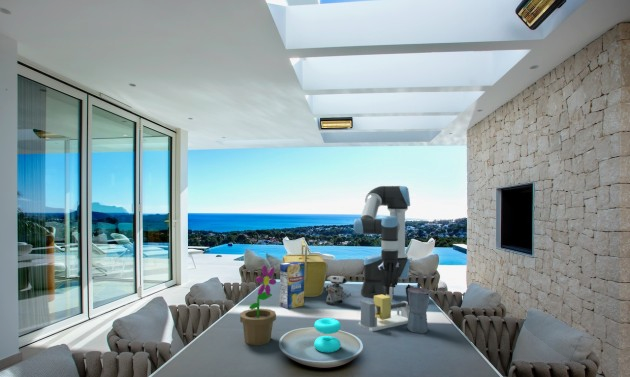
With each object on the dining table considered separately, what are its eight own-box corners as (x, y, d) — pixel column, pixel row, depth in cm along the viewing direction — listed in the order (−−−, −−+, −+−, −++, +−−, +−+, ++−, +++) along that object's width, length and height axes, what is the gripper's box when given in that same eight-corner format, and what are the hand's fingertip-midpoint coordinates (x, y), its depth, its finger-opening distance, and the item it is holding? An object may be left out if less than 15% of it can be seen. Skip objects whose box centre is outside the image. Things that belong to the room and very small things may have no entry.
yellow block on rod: (382, 314, 166) (382, 294, 166) (390, 318, 161) (390, 297, 161) (373, 316, 163) (373, 295, 163) (382, 320, 158) (382, 298, 158)
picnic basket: (281, 286, 232) (282, 239, 233) (321, 285, 235) (321, 239, 236) (282, 298, 203) (283, 245, 204) (327, 297, 206) (328, 245, 207)
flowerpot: (259, 350, 132) (260, 268, 133) (231, 341, 140) (232, 264, 141) (282, 338, 144) (284, 263, 145) (255, 330, 152) (257, 259, 153)
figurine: (339, 308, 185) (339, 279, 186) (323, 303, 194) (324, 275, 194) (351, 304, 192) (351, 276, 192) (335, 300, 200) (335, 273, 200)
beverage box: (279, 306, 188) (280, 263, 188) (296, 302, 195) (296, 261, 196) (287, 309, 183) (287, 265, 183) (303, 305, 190) (304, 263, 190)
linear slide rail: (401, 316, 174) (401, 293, 174) (415, 321, 166) (415, 297, 166) (358, 324, 161) (358, 300, 161) (371, 331, 153) (371, 305, 153)
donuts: (311, 318, 138) (335, 316, 141) (310, 344, 138) (335, 341, 141) (318, 327, 129) (344, 324, 132) (318, 355, 129) (344, 352, 131)
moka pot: (421, 337, 147) (421, 288, 148) (396, 325, 161) (396, 280, 161) (438, 333, 151) (438, 285, 152) (412, 322, 165) (412, 278, 166)
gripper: (394, 247, 172) (394, 297, 171) (373, 249, 165) (373, 301, 164) (405, 249, 165) (405, 301, 164) (384, 251, 159) (383, 305, 158)
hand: (389, 301), depth 164 cm, fingers closed
